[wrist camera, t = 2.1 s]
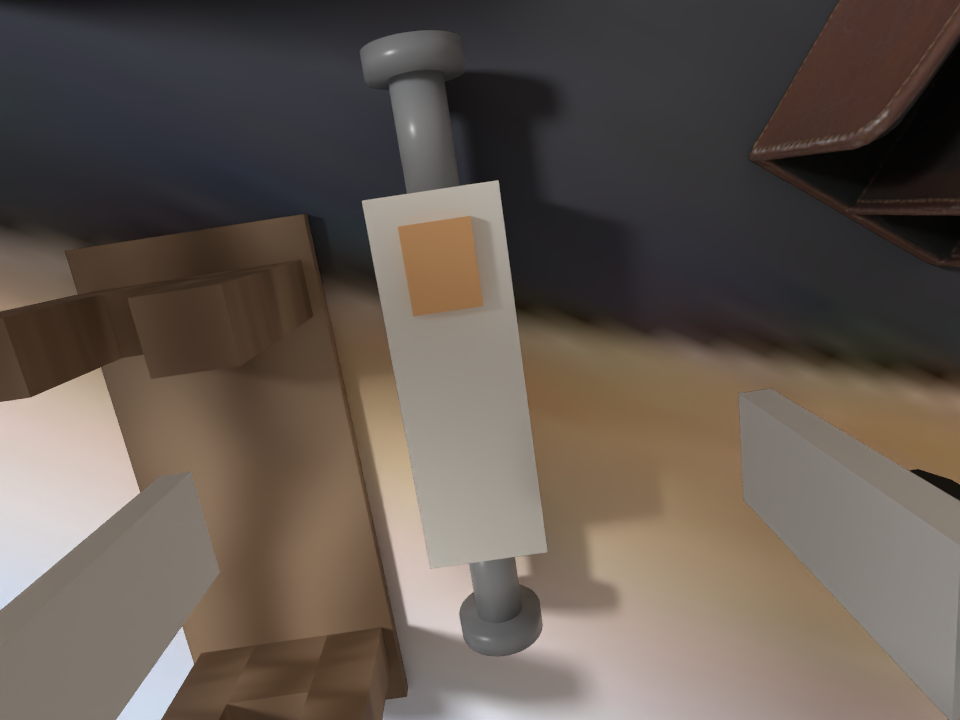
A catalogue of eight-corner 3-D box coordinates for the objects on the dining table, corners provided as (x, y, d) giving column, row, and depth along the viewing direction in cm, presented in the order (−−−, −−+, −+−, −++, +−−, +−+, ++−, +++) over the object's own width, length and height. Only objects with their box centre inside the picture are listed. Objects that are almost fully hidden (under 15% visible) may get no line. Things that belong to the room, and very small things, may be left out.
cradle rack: (217, 714, 31) (120, 909, 22) (73, 249, 25) (-132, 271, 17) (408, 687, 31) (384, 874, 22) (307, 214, 25) (222, 216, 17)
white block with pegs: (453, 592, 30) (450, 686, 24) (360, 75, 24) (326, 31, 18) (544, 579, 30) (564, 670, 24) (474, 58, 24) (477, 8, 18)
